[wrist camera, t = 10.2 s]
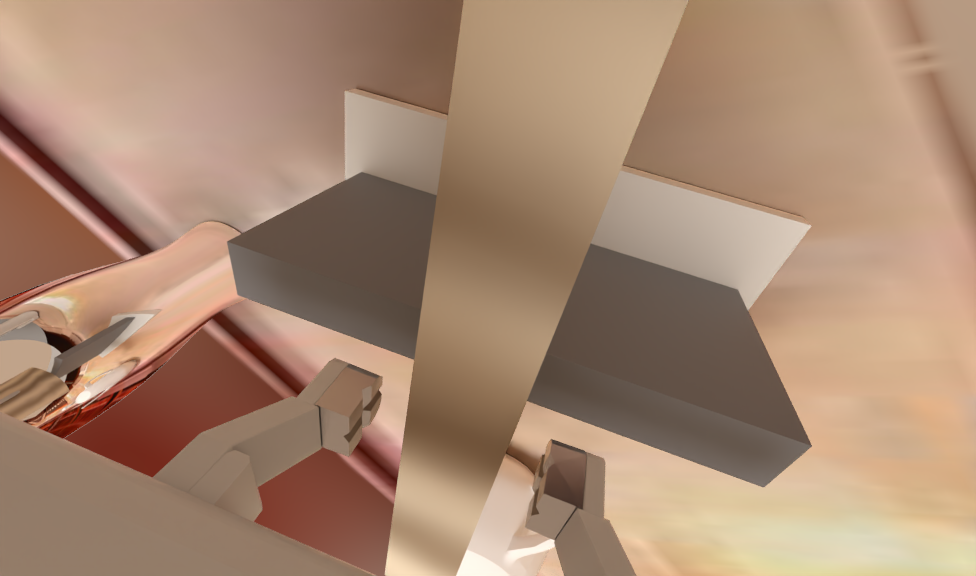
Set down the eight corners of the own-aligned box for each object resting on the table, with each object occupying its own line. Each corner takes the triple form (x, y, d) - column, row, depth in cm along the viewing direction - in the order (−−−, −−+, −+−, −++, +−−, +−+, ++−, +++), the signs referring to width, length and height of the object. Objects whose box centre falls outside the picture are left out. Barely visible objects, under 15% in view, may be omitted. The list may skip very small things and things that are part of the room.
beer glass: (212, 195, 26) (-137, 329, 14) (289, 274, 28) (39, 453, 16) (175, 244, 30) (-129, 386, 18) (246, 312, 32) (15, 481, 20)
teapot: (461, 537, 42) (423, 660, 34) (374, 467, 39) (309, 581, 31) (624, 496, 31) (627, 662, 23) (519, 395, 28) (479, 541, 20)
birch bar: (540, -148, 7) (497, -250, 4) (713, -112, 7) (770, -203, 4) (412, 510, 21) (384, 574, 18) (466, 533, 20) (445, 601, 18)
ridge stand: (355, 88, 20) (175, 122, 12) (802, 217, 18) (960, 370, 9) (354, 255, 26) (231, 355, 18) (691, 369, 23) (731, 547, 15)
